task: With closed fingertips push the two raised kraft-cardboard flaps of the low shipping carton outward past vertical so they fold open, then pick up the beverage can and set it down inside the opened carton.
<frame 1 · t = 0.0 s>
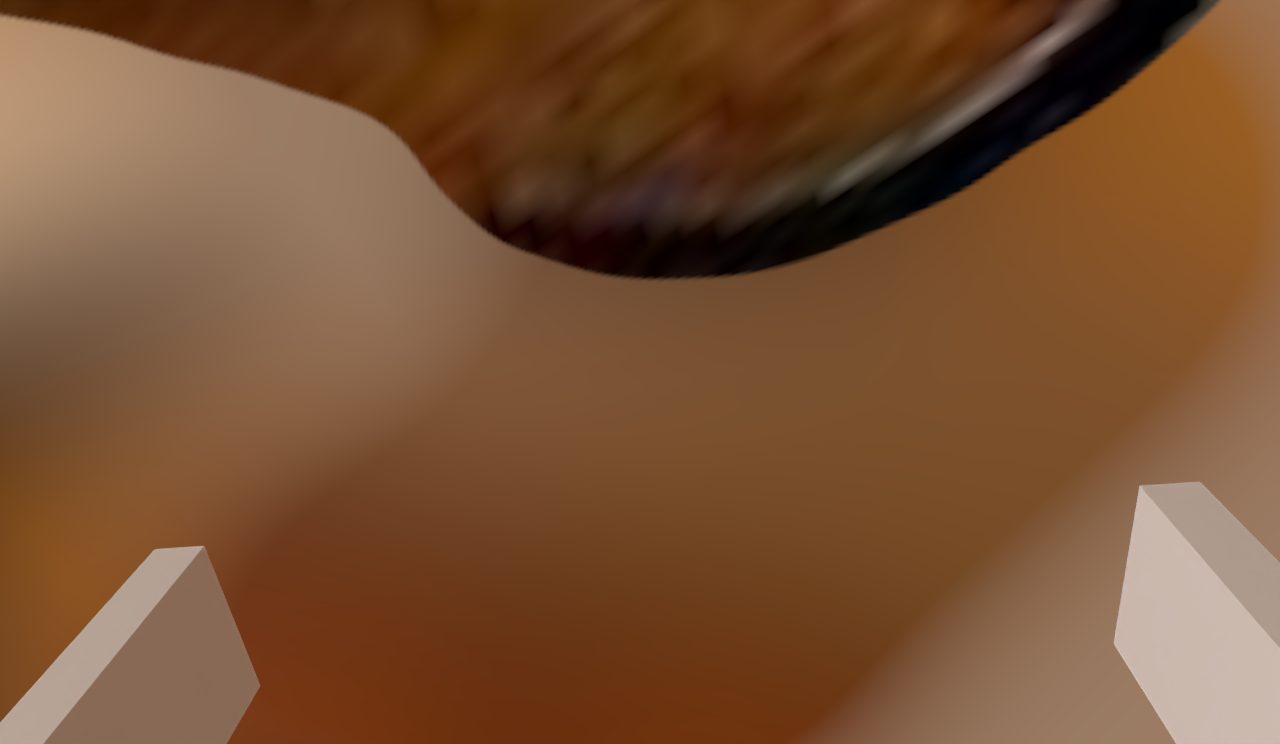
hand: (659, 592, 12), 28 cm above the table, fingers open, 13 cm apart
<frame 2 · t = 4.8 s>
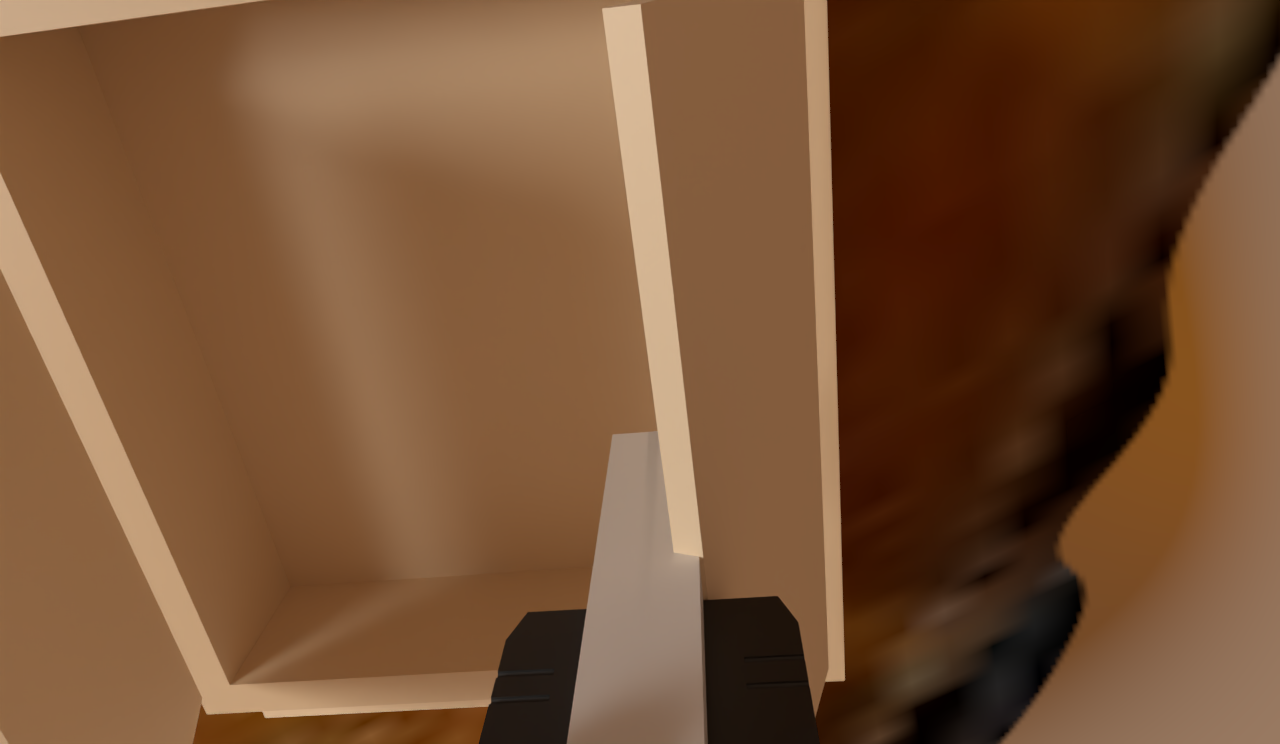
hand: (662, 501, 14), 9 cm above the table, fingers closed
carton: (481, 313, 23), on the table
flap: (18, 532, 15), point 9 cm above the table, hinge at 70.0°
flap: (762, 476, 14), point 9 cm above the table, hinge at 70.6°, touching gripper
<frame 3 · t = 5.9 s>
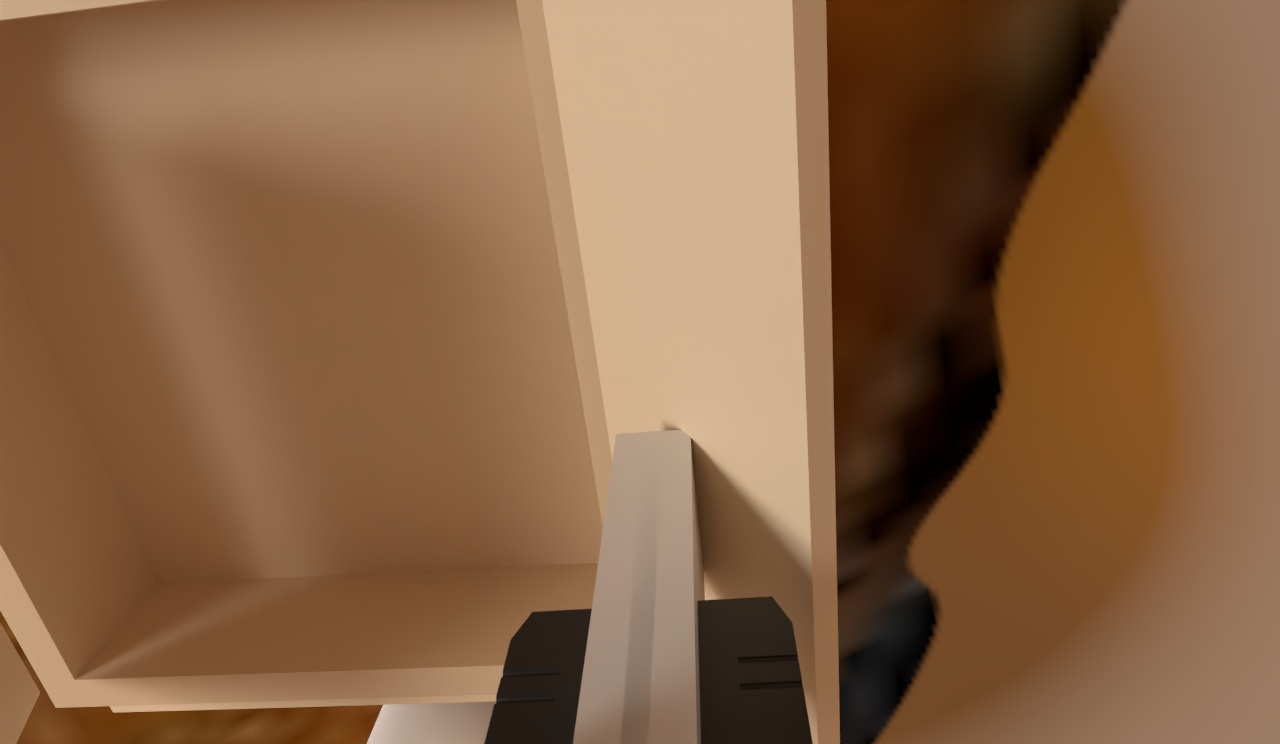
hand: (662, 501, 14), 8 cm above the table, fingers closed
carton: (323, 319, 23), on the table
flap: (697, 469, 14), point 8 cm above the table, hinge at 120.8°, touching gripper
beverage can: (514, 705, 29), on the table
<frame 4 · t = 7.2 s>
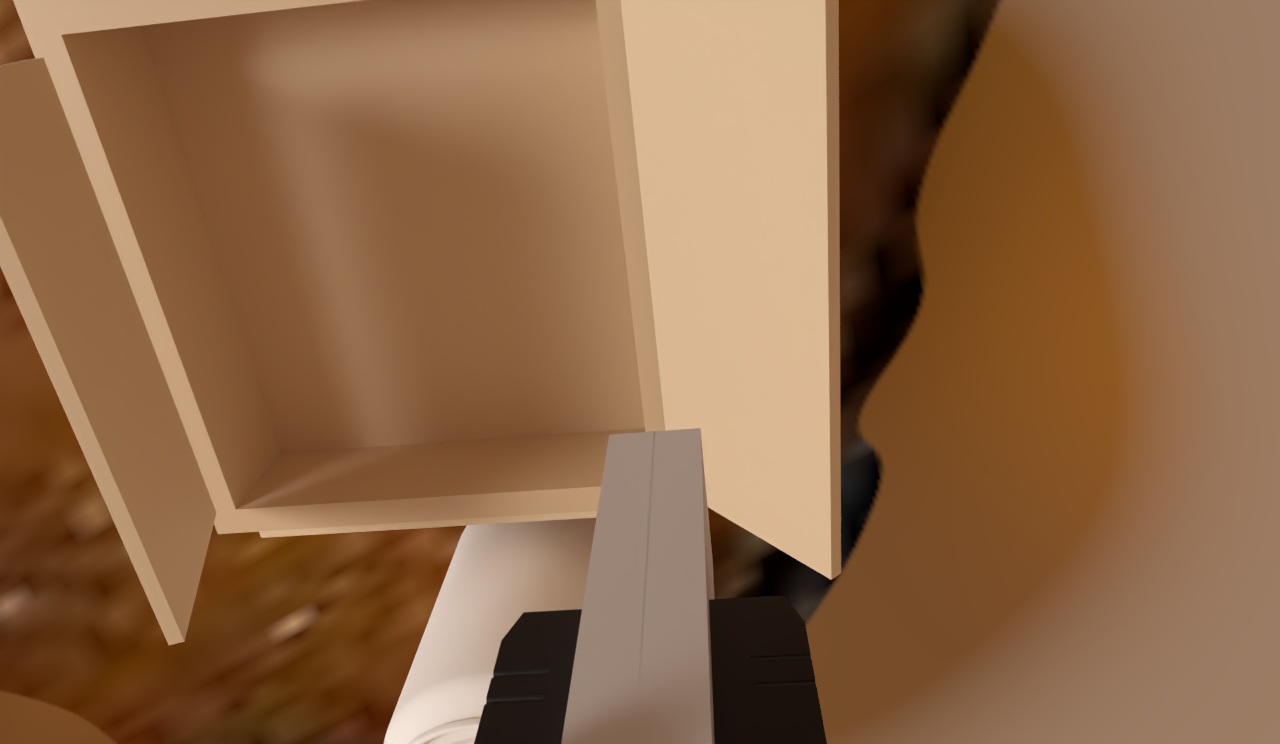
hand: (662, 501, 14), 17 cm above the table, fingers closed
carton: (425, 239, 31), on the table
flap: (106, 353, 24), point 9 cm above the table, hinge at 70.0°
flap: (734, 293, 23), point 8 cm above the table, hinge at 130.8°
beverage can: (554, 557, 37), on the table
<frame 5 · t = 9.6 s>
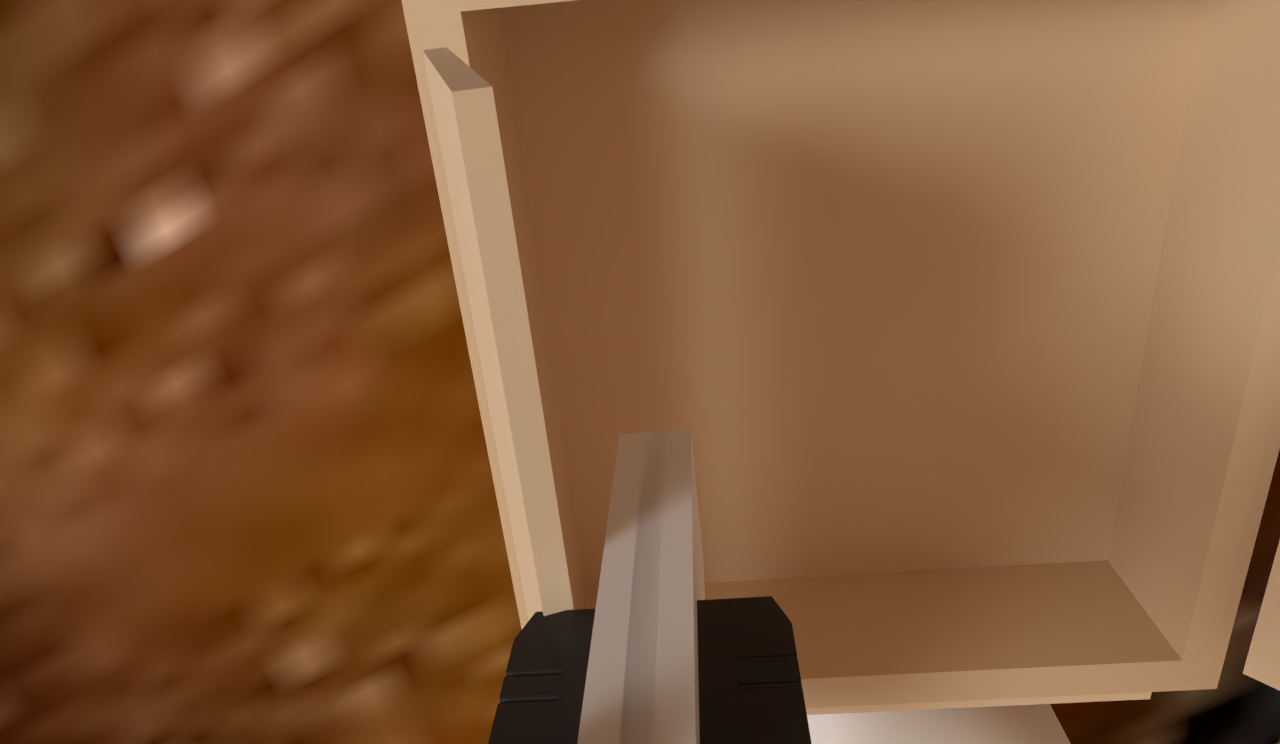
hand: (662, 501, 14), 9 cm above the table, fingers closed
carton: (840, 310, 22), on the table
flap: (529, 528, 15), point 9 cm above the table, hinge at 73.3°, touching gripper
beverage can: (911, 712, 28), on the table
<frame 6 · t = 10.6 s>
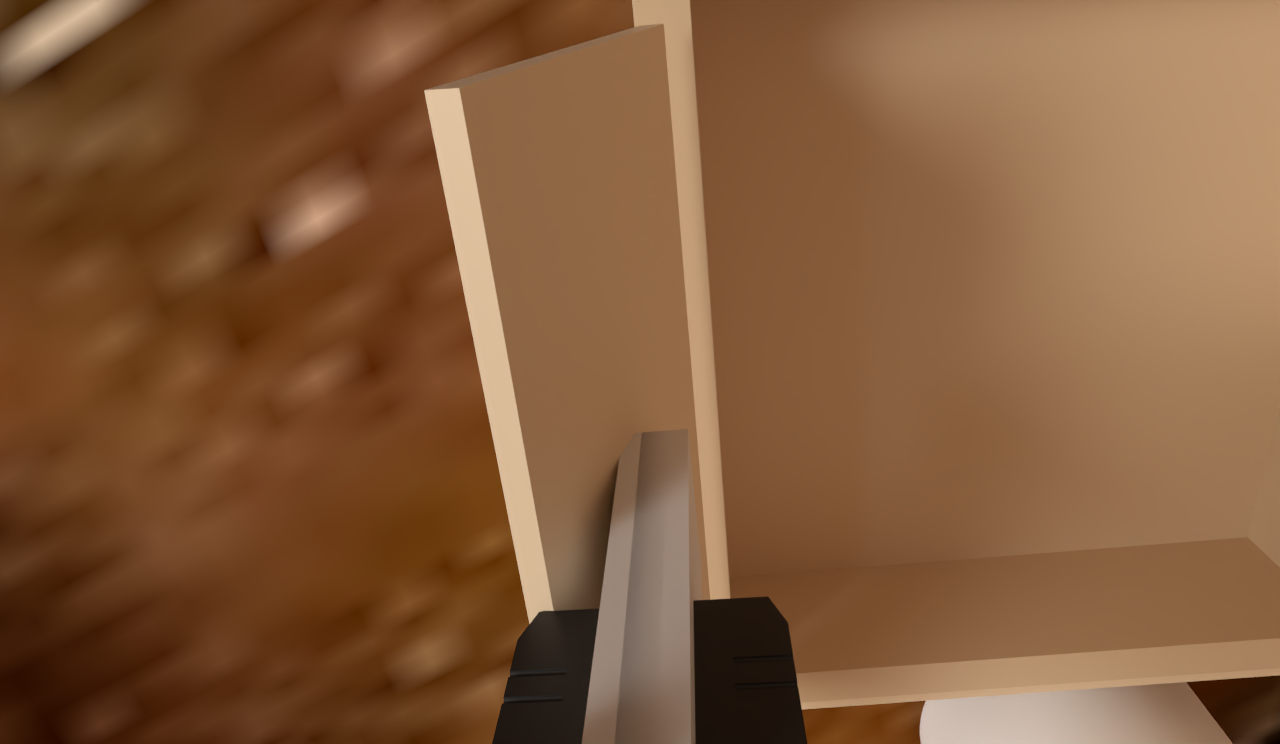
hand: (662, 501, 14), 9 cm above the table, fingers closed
carton: (995, 290, 22), on the table
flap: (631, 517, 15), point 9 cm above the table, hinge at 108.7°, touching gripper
beverage can: (1035, 695, 28), on the table
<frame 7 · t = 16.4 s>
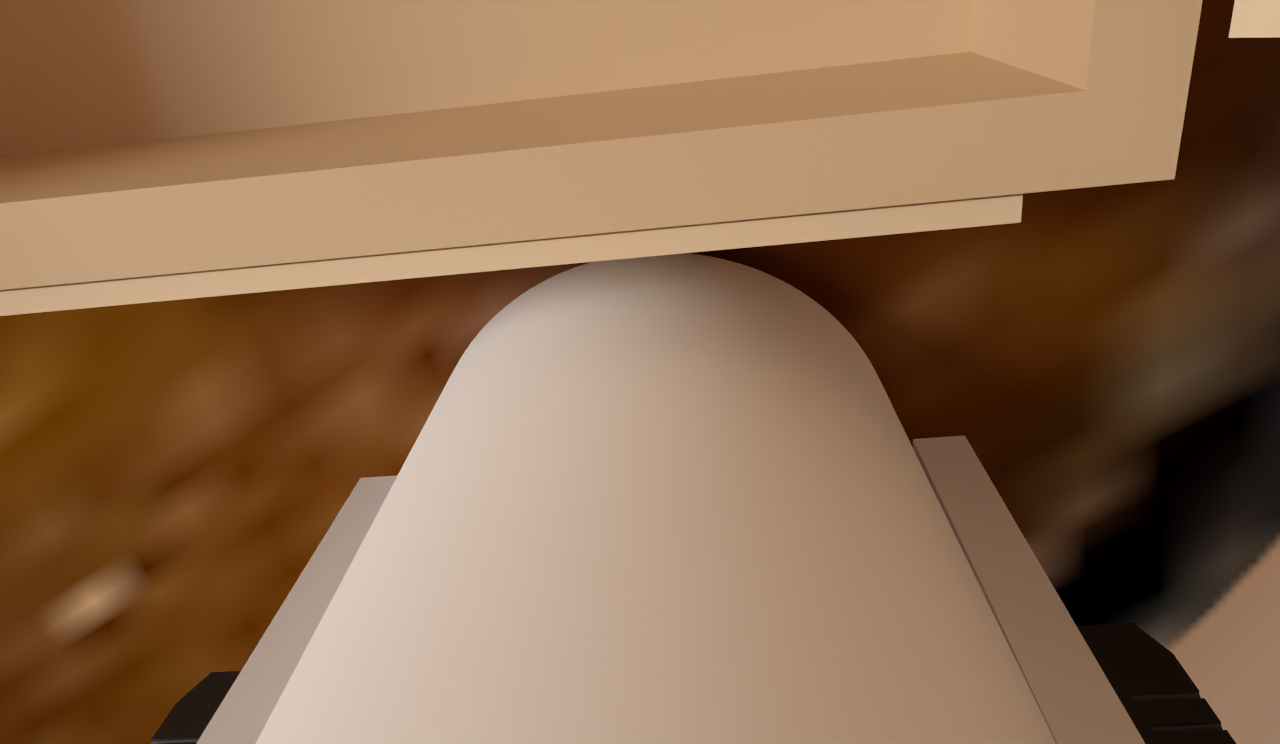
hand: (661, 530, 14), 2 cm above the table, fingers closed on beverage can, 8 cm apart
beverage can: (663, 444, 16), on the table, touching gripper
when the fingers open (5 cm above the table, at t = 21.3 s): beverage can drops 2 cm, resting on carton.
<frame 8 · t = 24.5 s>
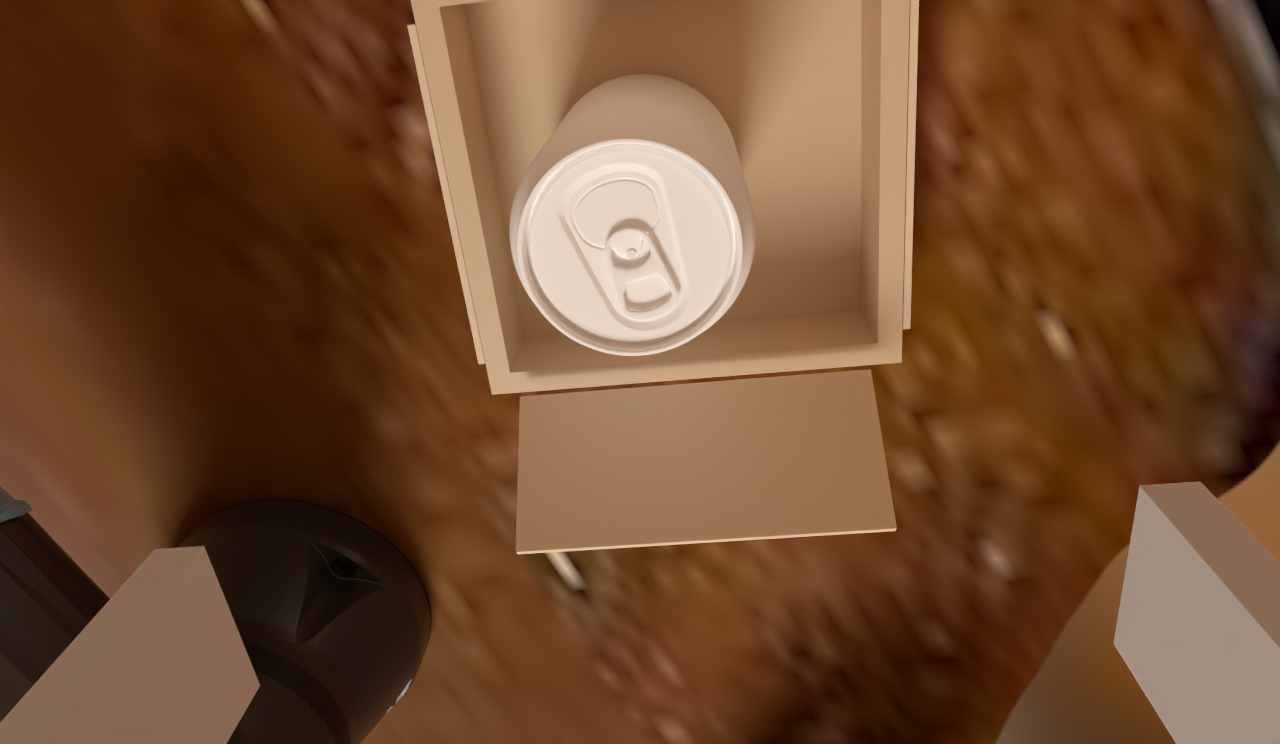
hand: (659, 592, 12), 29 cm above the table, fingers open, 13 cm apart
carton: (675, 162, 38), on the table
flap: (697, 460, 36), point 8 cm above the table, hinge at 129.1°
beverage can: (644, 167, 38), resting on carton
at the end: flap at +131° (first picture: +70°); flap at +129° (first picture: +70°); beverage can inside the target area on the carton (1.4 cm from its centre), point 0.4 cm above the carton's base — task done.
